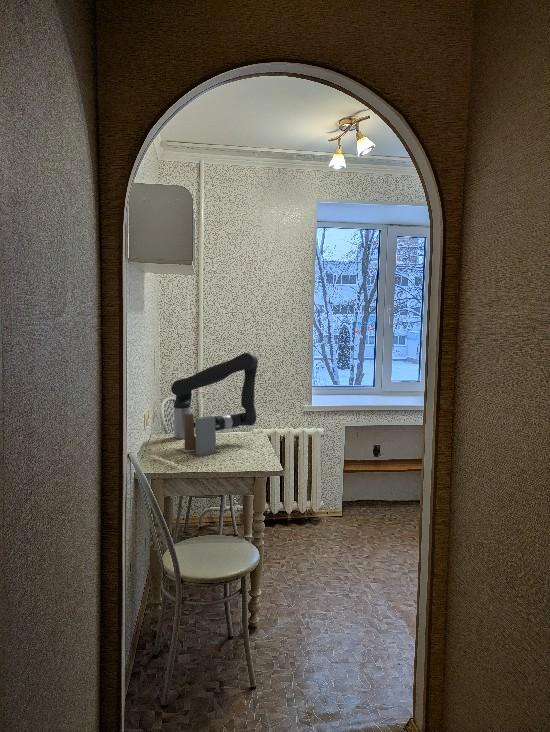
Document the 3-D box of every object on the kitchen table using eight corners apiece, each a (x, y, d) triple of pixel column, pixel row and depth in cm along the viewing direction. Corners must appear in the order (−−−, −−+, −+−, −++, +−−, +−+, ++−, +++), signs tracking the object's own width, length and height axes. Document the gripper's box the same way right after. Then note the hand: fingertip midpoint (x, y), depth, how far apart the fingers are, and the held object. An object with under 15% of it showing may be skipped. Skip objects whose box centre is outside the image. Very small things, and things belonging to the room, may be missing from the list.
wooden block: (202, 447, 297) (201, 412, 295) (203, 449, 293) (202, 414, 291) (184, 448, 295) (183, 413, 293) (185, 450, 290) (184, 415, 289)
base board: (175, 451, 294) (175, 448, 294) (199, 447, 303) (199, 444, 303) (197, 459, 277) (197, 456, 277) (222, 455, 286) (222, 452, 286)
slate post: (195, 454, 283) (195, 418, 282) (211, 451, 289) (210, 415, 287) (200, 455, 280) (199, 419, 279) (215, 452, 286) (215, 417, 284)
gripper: (214, 413, 309) (187, 417, 299) (229, 417, 298) (202, 421, 288) (214, 427, 310) (188, 431, 300) (229, 431, 299) (202, 436, 289)
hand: (195, 426), depth 294 cm, fingers open, 8 cm apart
